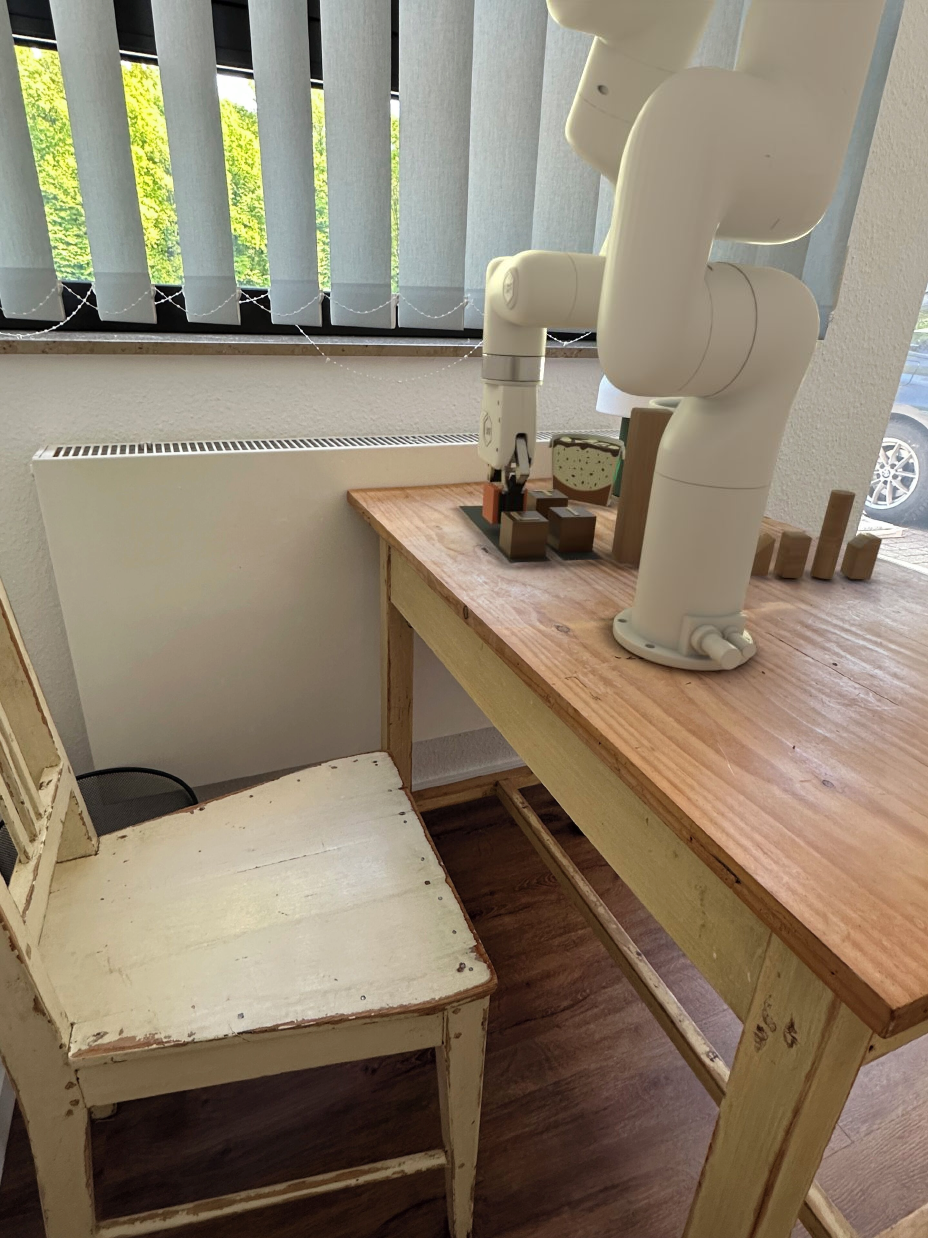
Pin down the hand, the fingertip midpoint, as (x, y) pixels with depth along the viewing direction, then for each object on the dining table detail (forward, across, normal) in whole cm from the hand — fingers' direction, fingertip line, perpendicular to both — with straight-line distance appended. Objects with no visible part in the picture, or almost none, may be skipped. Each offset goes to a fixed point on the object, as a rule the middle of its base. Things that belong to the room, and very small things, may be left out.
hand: (503, 516), depth 94 cm
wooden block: (+3, +12, +15) cm, 20 cm away
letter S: (0, 0, 0) cm, 0 cm away
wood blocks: (+3, +18, +27) cm, 33 cm away
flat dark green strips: (+3, -1, +3) cm, 4 cm away
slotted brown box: (+2, +7, +7) cm, 10 cm away
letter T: (+2, -2, +7) cm, 7 cm away
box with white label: (+2, +8, 0) cm, 9 cm away
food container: (+3, -17, +19) cm, 26 cm away
